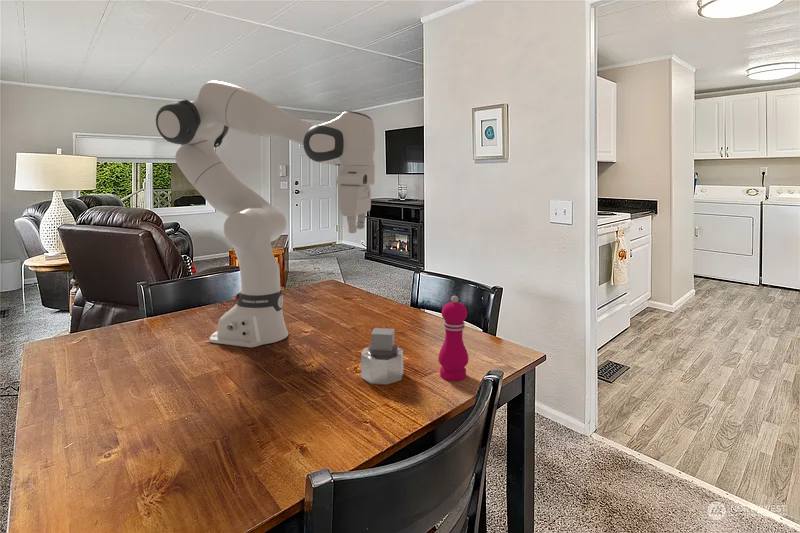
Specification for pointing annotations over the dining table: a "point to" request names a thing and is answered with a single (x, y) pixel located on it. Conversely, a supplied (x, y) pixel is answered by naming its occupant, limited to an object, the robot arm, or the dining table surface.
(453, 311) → the pepper mill
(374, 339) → the grey stepped piece
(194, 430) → the dining table surface
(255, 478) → the dining table surface
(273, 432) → the dining table surface
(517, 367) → the dining table surface
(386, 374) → the grey octagonal nut
